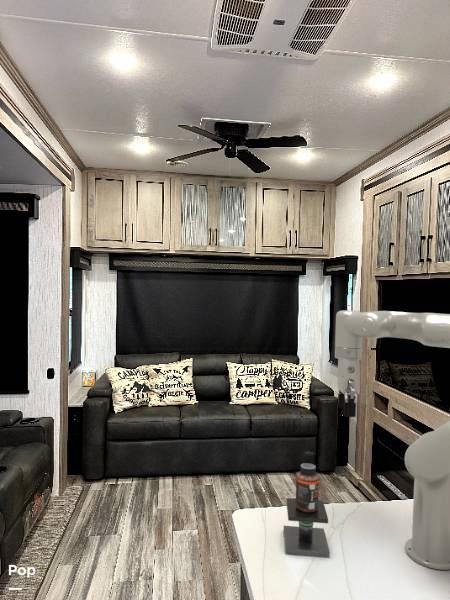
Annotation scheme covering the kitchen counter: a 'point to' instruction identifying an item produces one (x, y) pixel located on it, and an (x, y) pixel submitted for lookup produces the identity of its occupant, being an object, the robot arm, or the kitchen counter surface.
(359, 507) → the kitchen counter surface
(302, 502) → the supplement bottle
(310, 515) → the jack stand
